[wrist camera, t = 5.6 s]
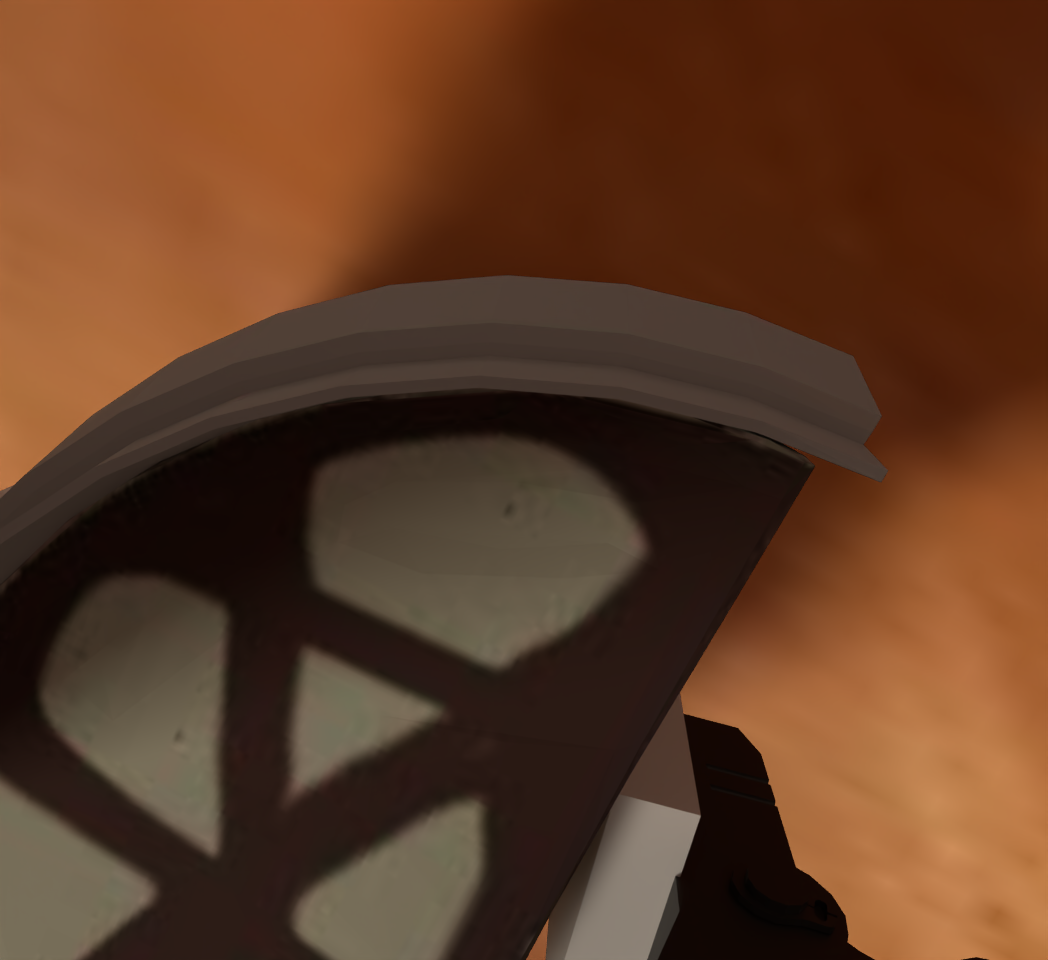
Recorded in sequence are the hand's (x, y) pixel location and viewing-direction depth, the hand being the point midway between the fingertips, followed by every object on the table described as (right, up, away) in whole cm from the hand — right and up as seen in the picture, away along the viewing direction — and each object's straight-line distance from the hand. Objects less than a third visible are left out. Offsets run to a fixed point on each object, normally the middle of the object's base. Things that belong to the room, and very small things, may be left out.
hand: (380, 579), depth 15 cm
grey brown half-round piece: (0, +1, +2) cm, 2 cm away
